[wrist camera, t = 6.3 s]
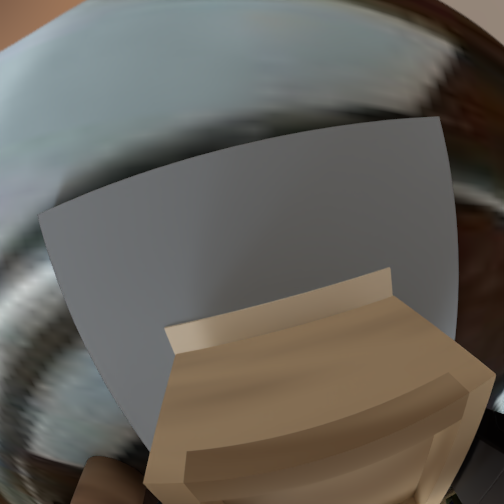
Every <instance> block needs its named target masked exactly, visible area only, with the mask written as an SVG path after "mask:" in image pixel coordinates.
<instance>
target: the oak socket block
mask: <svg viewBox="0 0 504 504" xmlns="http://www.w3.org/2000/svg"><path fill="white" fill-rule="evenodd" d="M495 377H496V374H495V373H494V372H493V371H491V370H490V369H489V368H488V367H486V366H485V365H484V364H483V363H482V362H480V361H479V360H478V359H477V358H475V357H474V356H473V355H472V354H470V353H469V352H468V351H467V350H465V349H464V348H463V347H462V346H460V345H459V344H458V343H456V342H455V341H454V340H453V339H451V338H450V337H449V336H447V335H446V334H445V333H443V332H442V331H441V330H440V329H438V328H437V327H436V326H434V325H433V324H432V323H430V322H429V321H428V320H426V319H425V318H424V317H422V316H421V315H420V314H418V313H417V312H416V311H414V310H413V309H412V308H410V307H409V306H408V305H406V304H405V303H403V302H402V301H401V300H399V299H398V298H397V297H395V296H391V297H388V298H386V299H383V300H380V301H377V302H374V303H371V304H368V305H365V306H362V307H359V308H356V309H353V310H350V311H346V312H343V313H340V314H337V315H333V316H330V317H327V318H323V319H320V320H317V321H313V322H310V323H306V324H303V325H299V326H295V327H292V328H288V329H284V330H281V331H277V332H273V333H269V334H265V335H261V336H257V337H253V338H249V339H245V340H240V341H236V342H232V343H227V344H223V345H218V346H213V347H209V348H204V349H199V350H194V351H189V352H184V353H178V354H176V355H175V358H174V362H173V365H172V369H171V373H170V376H169V380H168V384H167V387H166V391H165V395H164V399H163V402H162V406H161V410H160V414H159V418H158V422H157V426H156V430H155V434H154V438H153V442H152V446H151V450H150V455H149V459H148V463H147V468H146V472H145V476H144V481H143V484H144V485H145V486H146V487H147V488H148V489H149V490H150V491H151V492H152V493H153V494H154V495H155V496H156V497H157V498H158V499H159V500H160V501H161V502H162V503H163V504H440V502H441V501H442V499H443V497H444V496H445V494H446V492H447V491H448V489H449V487H450V485H451V484H452V482H453V480H454V478H455V476H456V474H457V472H458V471H459V469H460V467H461V465H462V463H463V461H464V459H465V457H466V454H467V452H468V450H469V448H470V446H471V443H472V441H473V439H474V437H475V434H476V432H477V429H478V427H479V424H480V422H481V419H482V417H483V414H484V411H485V408H486V405H487V403H488V400H489V397H490V393H491V390H492V387H493V384H494V380H495Z"/></svg>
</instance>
